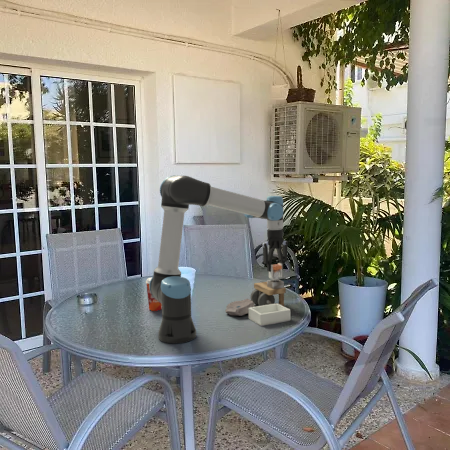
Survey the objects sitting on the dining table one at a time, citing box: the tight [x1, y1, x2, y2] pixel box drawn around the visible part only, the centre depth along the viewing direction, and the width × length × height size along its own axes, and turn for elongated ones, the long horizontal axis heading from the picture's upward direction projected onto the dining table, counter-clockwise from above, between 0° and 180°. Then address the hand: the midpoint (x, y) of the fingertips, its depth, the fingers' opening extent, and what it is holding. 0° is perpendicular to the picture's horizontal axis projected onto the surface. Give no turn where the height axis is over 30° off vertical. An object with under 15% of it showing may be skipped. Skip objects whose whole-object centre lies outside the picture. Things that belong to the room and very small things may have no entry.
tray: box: [248, 302, 291, 327], centre depth 196 cm, size 15×11×5 cm
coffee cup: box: [145, 277, 162, 312], centre depth 214 cm, size 8×8×15 cm
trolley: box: [249, 279, 287, 307], centre depth 214 cm, size 12×15×13 cm
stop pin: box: [271, 263, 282, 282], centre depth 210 cm, size 4×4×11 cm
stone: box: [225, 298, 256, 317], centre depth 205 cm, size 13×10×6 cm
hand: (275, 277), depth 210 cm, fingers closed on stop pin, 4 cm apart
